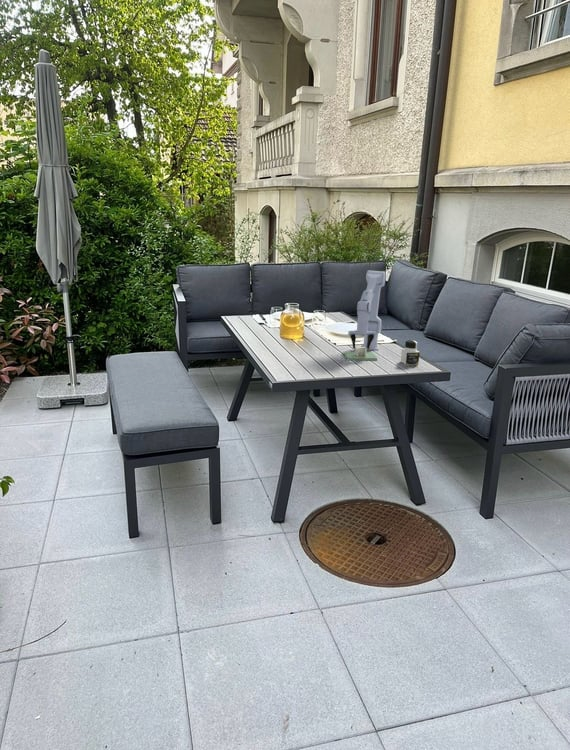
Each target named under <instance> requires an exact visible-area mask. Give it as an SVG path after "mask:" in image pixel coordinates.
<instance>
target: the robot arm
mask: <svg viewBox="0 0 570 750" xmlns="http://www.w3.org/2000/svg"><path fill="white" fill-rule="evenodd" d="M386 274H387V273H386V272H385V270H383V271H381V270H369V269H368V270H367V271H366V275H365V280H366V283H367V286H366V289H365V290H363V292H362V294H361V298H360V300H359V301H358V302H357V305H356V311H357V312H356V314H357V323H356V330H348V333H347V335H348V336H349V337H350V339H351V343H352V349H354V350H355V347H356V338H357V336H364V337H363V344H361V347H366V348H367V351H371V350H372V351H379V350H380V349H379V347H378V337H379V334H381V331H382V327H383V326H382V323H383V321H382V319H381V318H380V317H379V316H378V315H379V314H378V313H379V303H380V299H381V298H380V297H381V290H382V287H385V284H386V277H387V275H386Z"/></svg>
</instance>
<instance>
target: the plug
mask: <svg viewBox="0 0 570 750" xmlns="http://www.w3.org/2000/svg"><path fill="white" fill-rule="evenodd" d="M359 350H360V353H361V350H362V351H363V350H364V356H367V352H368V350H367V348H366V347H362V346H355V349H354V352H355V355H356V356H358V355H359Z"/></svg>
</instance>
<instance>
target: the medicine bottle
mask: <svg viewBox="0 0 570 750" xmlns="http://www.w3.org/2000/svg"><path fill="white" fill-rule="evenodd" d="M404 343H405V345H404V348H401V352H400V355H401V356H400V362H401V363H402V364H403V363H404V365H405V366H418V365H419V364H420V363H419V361H420V353H421V352H420V351H419V350H418V342H417V341H416V340H411V339H410V340H406V341H405V342H404ZM417 364H418V365H417Z"/></svg>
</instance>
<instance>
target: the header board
mask: <svg viewBox="0 0 570 750" xmlns="http://www.w3.org/2000/svg"><path fill="white" fill-rule="evenodd" d="M342 354H343V356H344V357H345V358H347V359H346V360H347V361H378V357H377V356H376V355H375V354H374V352H373V351H367V356H364V350H363V351H362V350H361V353H360V350H359V355H358V356H356V355H355V351H343V353H342Z"/></svg>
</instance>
